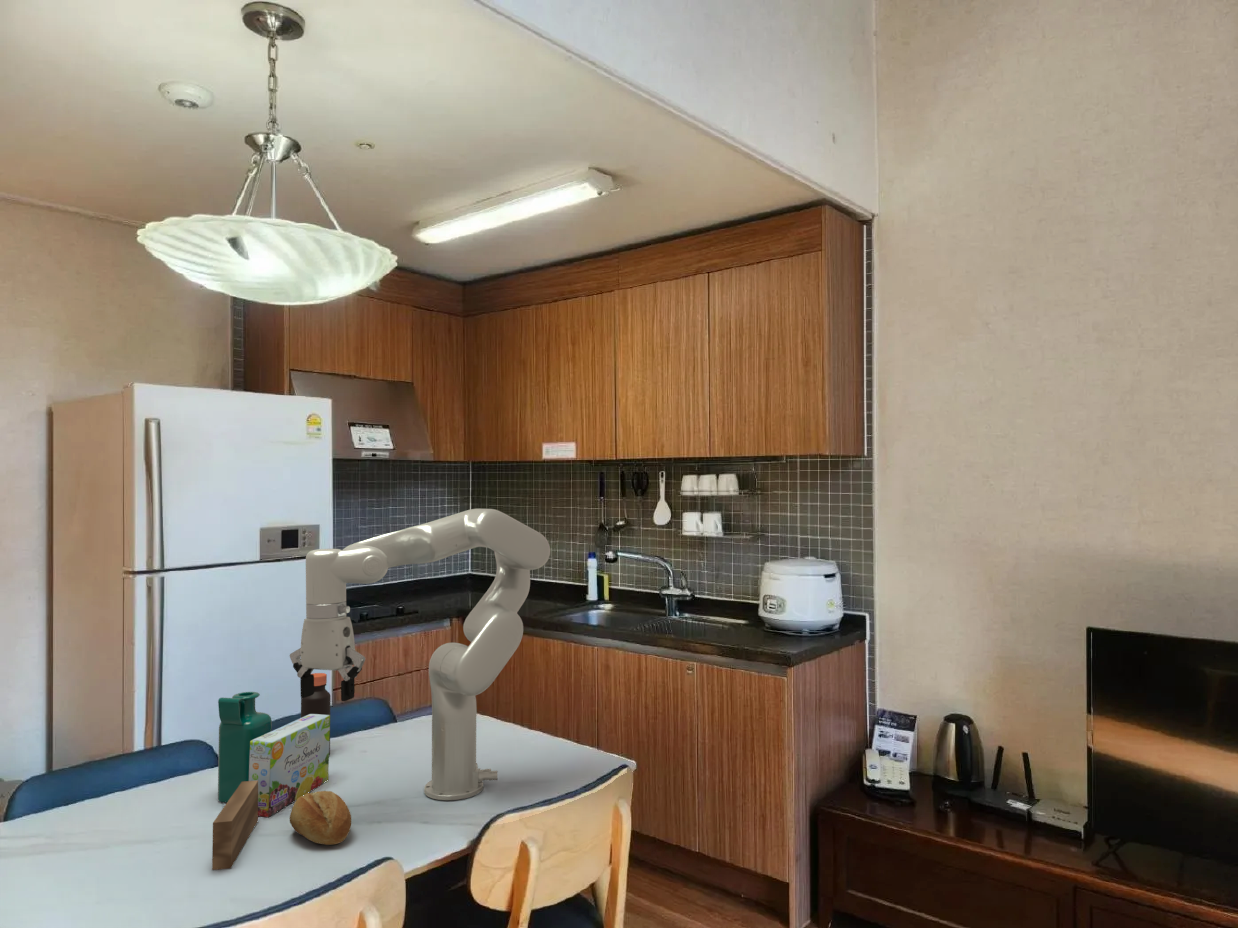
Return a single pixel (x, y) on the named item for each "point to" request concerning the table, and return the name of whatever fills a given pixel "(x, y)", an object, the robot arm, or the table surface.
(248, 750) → the pitcher
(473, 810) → the table surface
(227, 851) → the walnut board
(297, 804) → the bread roll
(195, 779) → the table surface
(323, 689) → the bottle
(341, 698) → the robot arm
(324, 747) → the snack box
